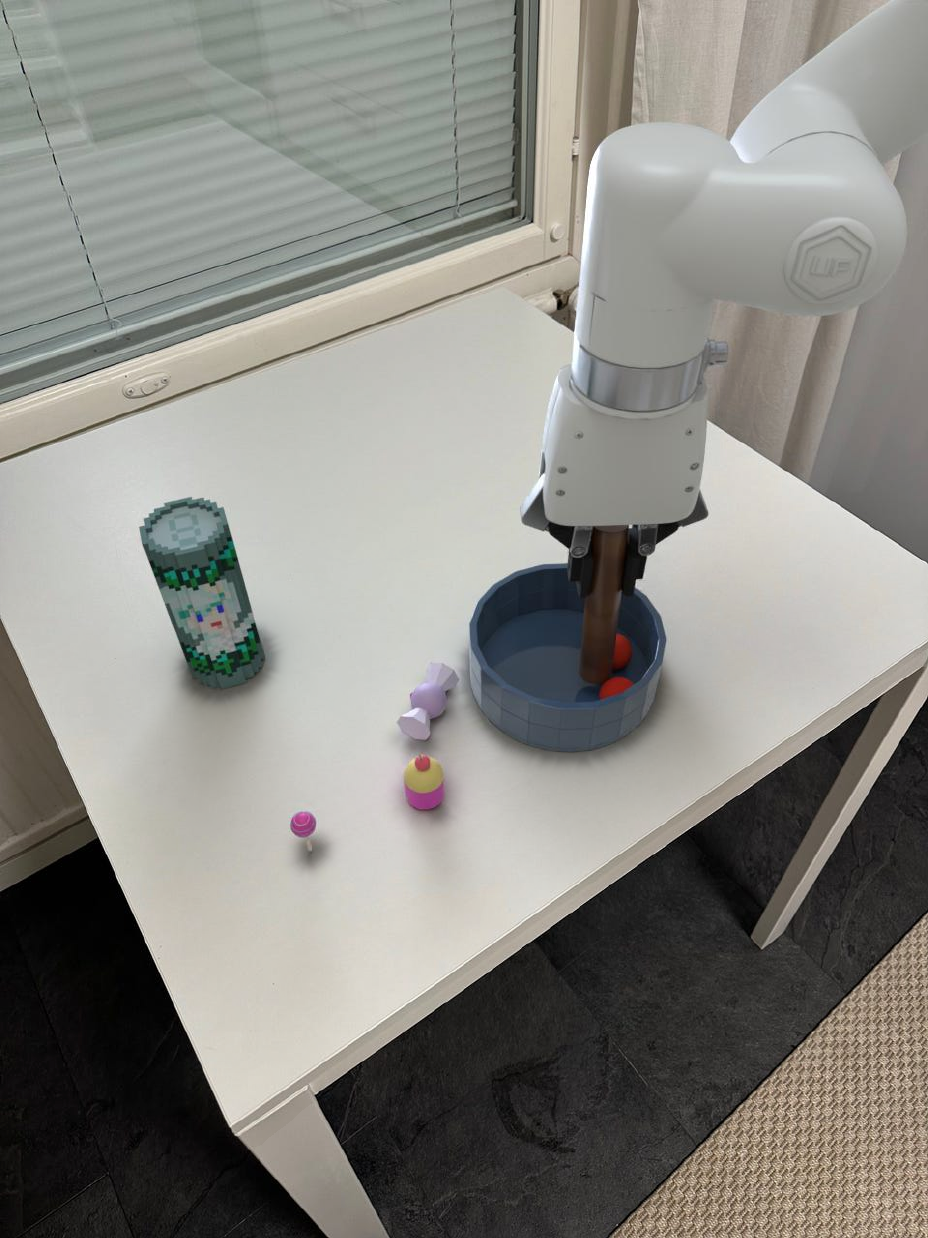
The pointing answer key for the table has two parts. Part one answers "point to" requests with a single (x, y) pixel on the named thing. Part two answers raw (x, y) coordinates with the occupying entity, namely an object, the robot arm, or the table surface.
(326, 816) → the table surface
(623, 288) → the robot arm
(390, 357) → the table surface
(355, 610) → the table surface
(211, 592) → the can
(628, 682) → the tomato
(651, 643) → the bowl
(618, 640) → the tomato
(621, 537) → the stick
